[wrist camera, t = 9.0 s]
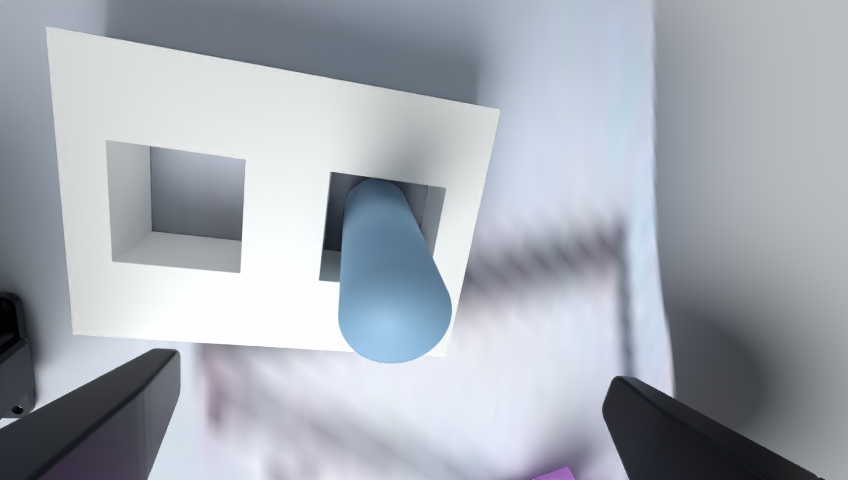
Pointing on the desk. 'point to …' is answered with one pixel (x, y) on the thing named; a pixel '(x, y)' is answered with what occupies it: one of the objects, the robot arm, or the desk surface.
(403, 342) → the peg
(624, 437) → the robot arm
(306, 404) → the desk surface
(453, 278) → the hole block
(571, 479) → the bracket
